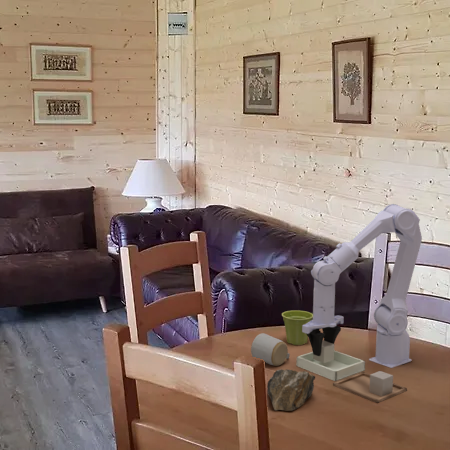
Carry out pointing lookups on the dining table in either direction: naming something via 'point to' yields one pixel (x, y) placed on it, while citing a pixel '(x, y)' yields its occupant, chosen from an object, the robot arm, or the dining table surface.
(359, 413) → the dining table surface
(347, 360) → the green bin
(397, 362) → the robot arm
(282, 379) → the rock
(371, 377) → the stone
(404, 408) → the dining table surface
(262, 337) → the ceramic mug
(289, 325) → the plant pot
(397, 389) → the wooden tray
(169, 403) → the dining table surface
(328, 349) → the stone
